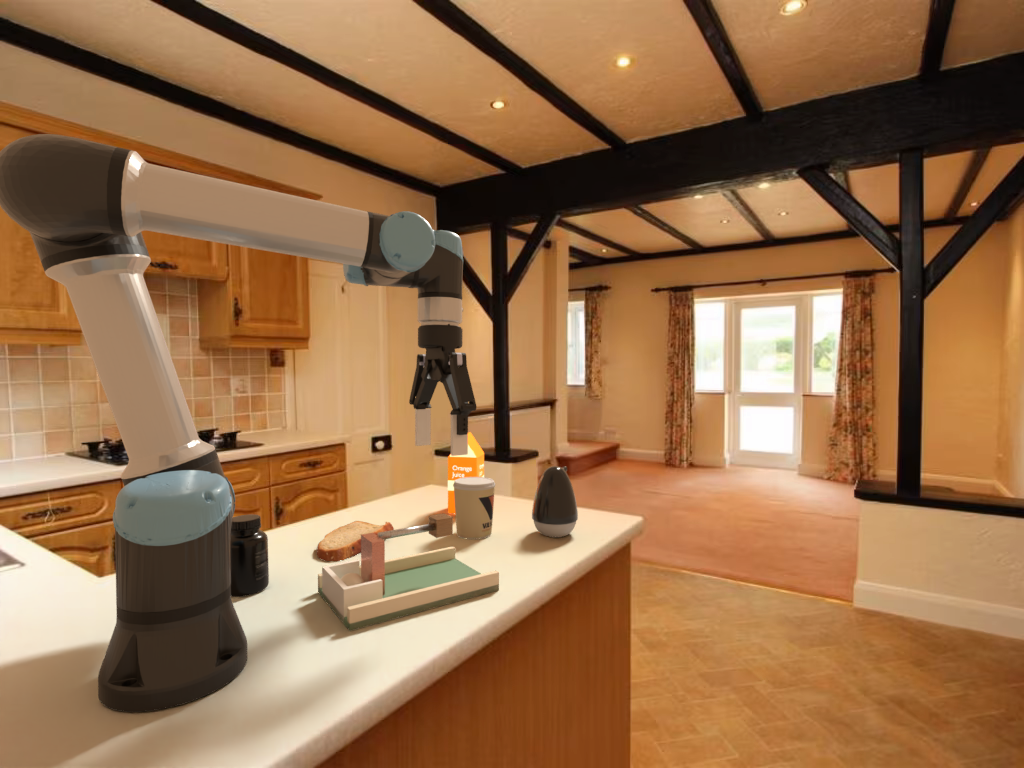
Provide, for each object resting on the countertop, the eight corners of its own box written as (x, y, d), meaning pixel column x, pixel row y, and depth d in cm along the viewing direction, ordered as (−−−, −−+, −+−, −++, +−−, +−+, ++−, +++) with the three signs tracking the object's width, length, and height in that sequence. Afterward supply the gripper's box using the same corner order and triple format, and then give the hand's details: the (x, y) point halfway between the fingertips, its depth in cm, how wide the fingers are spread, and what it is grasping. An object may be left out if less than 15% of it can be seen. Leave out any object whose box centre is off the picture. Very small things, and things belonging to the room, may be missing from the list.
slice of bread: (322, 566, 102) (322, 546, 102) (304, 540, 118) (304, 523, 118) (413, 550, 111) (413, 531, 111) (385, 528, 127) (385, 512, 127)
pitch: (349, 630, 76) (349, 595, 76) (318, 592, 89) (317, 562, 89) (498, 590, 90) (499, 560, 90) (452, 562, 103) (452, 536, 103)
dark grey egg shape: (585, 531, 123) (586, 465, 123) (564, 544, 114) (565, 472, 114) (546, 524, 129) (546, 460, 128) (523, 535, 120) (523, 467, 120)
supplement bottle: (259, 578, 95) (259, 510, 95) (275, 589, 90) (274, 517, 90) (217, 589, 90) (216, 517, 90) (230, 601, 85) (229, 526, 85)
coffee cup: (489, 541, 116) (489, 485, 115) (447, 539, 118) (447, 483, 117) (499, 529, 125) (499, 477, 125) (460, 526, 127) (460, 475, 126)
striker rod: (372, 597, 84) (372, 533, 83) (361, 587, 88) (360, 525, 87) (455, 577, 92) (455, 518, 92) (441, 568, 96) (441, 512, 96)
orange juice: (447, 513, 138) (447, 435, 138) (456, 505, 147) (456, 431, 146) (477, 515, 137) (477, 436, 136) (484, 506, 146) (484, 432, 145)
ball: (371, 593, 84) (348, 609, 82) (362, 585, 87) (339, 600, 85) (362, 572, 83) (337, 587, 81) (353, 564, 86) (329, 578, 84)
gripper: (498, 321, 84) (498, 457, 85) (428, 330, 105) (428, 440, 105) (455, 318, 80) (455, 462, 80) (391, 328, 101) (391, 443, 101)
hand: (440, 450), depth 93 cm, fingers open, 13 cm apart
